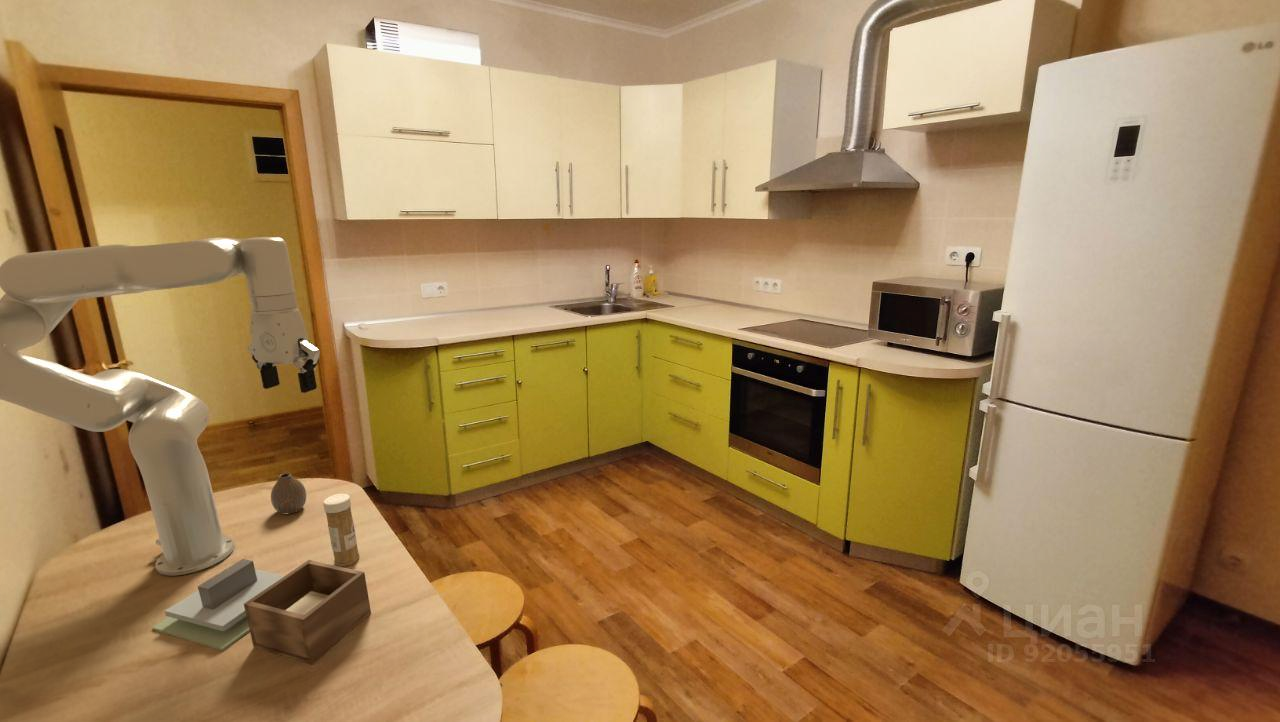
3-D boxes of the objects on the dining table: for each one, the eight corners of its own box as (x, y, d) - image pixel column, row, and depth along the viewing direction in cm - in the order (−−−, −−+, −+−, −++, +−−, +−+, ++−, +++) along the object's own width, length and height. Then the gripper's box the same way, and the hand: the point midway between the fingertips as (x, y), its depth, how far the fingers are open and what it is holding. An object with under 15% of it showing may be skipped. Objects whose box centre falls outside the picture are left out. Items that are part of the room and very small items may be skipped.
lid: (168, 623, 97) (158, 589, 95) (240, 577, 109) (233, 546, 107) (225, 639, 93) (217, 604, 91) (294, 589, 105) (288, 557, 103)
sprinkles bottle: (361, 562, 113) (351, 499, 110) (335, 570, 111) (324, 506, 107) (357, 551, 117) (347, 490, 113) (332, 558, 114) (321, 497, 111)
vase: (266, 516, 131) (259, 481, 128) (289, 501, 137) (282, 467, 135) (293, 518, 130) (286, 483, 127) (315, 503, 136) (309, 469, 134)
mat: (152, 629, 96) (152, 627, 96) (243, 572, 111) (243, 570, 110) (222, 650, 91) (222, 648, 91) (308, 588, 106) (308, 586, 105)
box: (253, 647, 92) (243, 603, 89) (316, 599, 102) (308, 559, 100) (312, 664, 88) (303, 619, 86) (371, 613, 99) (364, 572, 97)
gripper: (222, 305, 110) (240, 391, 114) (291, 308, 105) (307, 398, 109) (258, 298, 117) (274, 380, 121) (325, 301, 112) (339, 386, 116)
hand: (290, 388), depth 115 cm, fingers open, 9 cm apart
